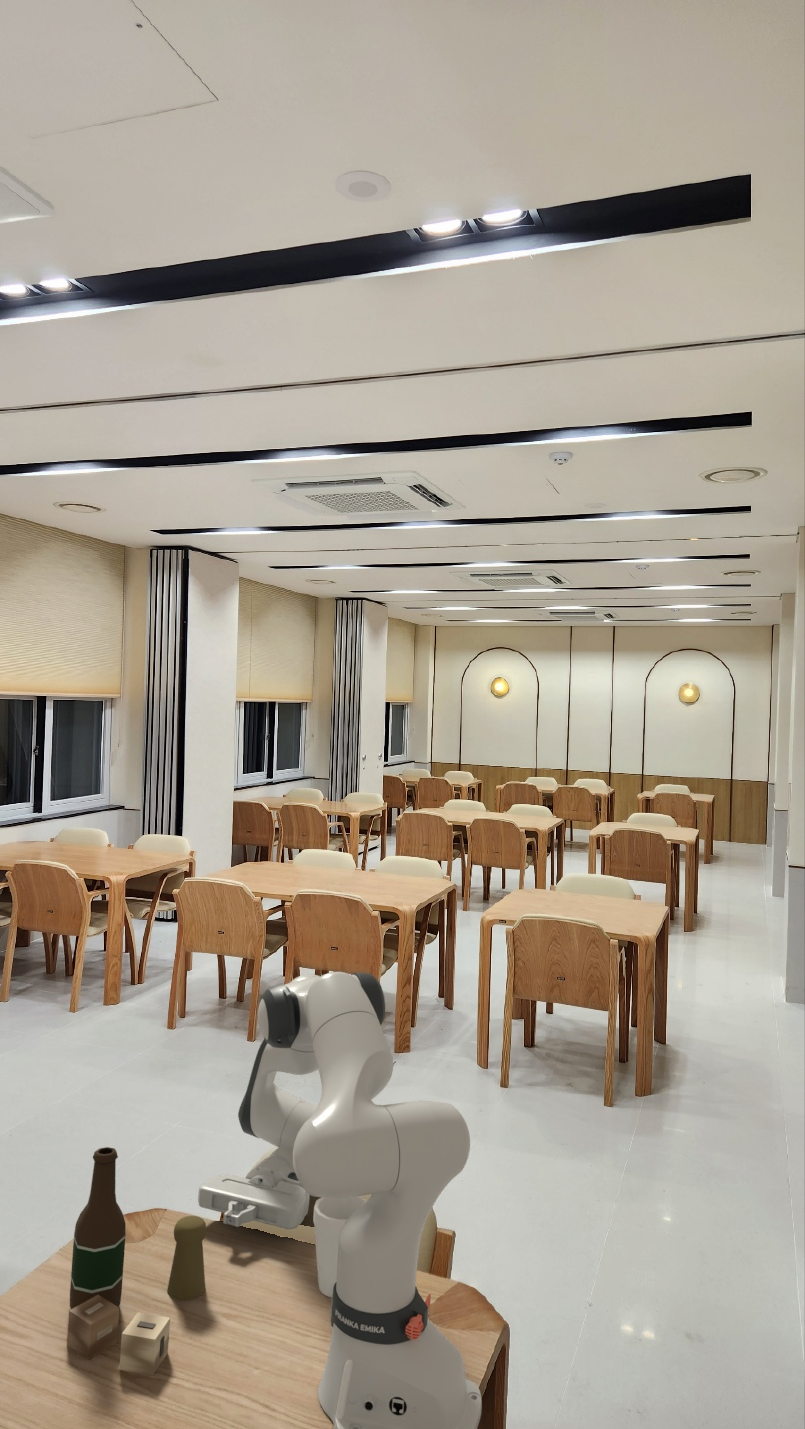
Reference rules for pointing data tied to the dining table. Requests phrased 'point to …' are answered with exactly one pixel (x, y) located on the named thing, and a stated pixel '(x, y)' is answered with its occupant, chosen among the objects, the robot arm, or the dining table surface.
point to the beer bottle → (99, 1238)
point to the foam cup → (331, 1236)
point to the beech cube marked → (144, 1343)
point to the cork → (188, 1259)
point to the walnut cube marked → (93, 1326)
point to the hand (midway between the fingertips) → (230, 1220)
